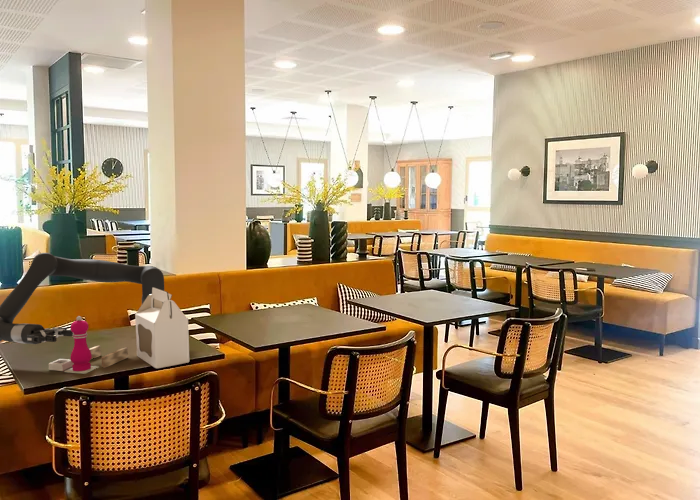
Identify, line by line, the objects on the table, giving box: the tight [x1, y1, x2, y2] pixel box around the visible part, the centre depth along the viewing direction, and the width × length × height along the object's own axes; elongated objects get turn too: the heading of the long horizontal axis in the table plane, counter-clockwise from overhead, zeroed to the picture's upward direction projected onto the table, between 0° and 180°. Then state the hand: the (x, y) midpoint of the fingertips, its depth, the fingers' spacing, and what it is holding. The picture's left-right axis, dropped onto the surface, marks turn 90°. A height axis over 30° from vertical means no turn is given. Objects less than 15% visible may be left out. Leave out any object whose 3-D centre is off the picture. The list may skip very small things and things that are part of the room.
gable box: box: [134, 287, 190, 369], centre depth 227 cm, size 22×13×28 cm, turn 38°
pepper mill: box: [69, 315, 92, 371], centre depth 214 cm, size 7×7×20 cm
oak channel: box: [89, 345, 129, 368], centre depth 225 cm, size 14×14×4 cm
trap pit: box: [48, 358, 74, 372], centre depth 217 cm, size 6×6×2 cm
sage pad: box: [63, 365, 100, 375], centre depth 215 cm, size 8×9×1 cm
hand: (64, 336), depth 215 cm, fingers open, 8 cm apart
